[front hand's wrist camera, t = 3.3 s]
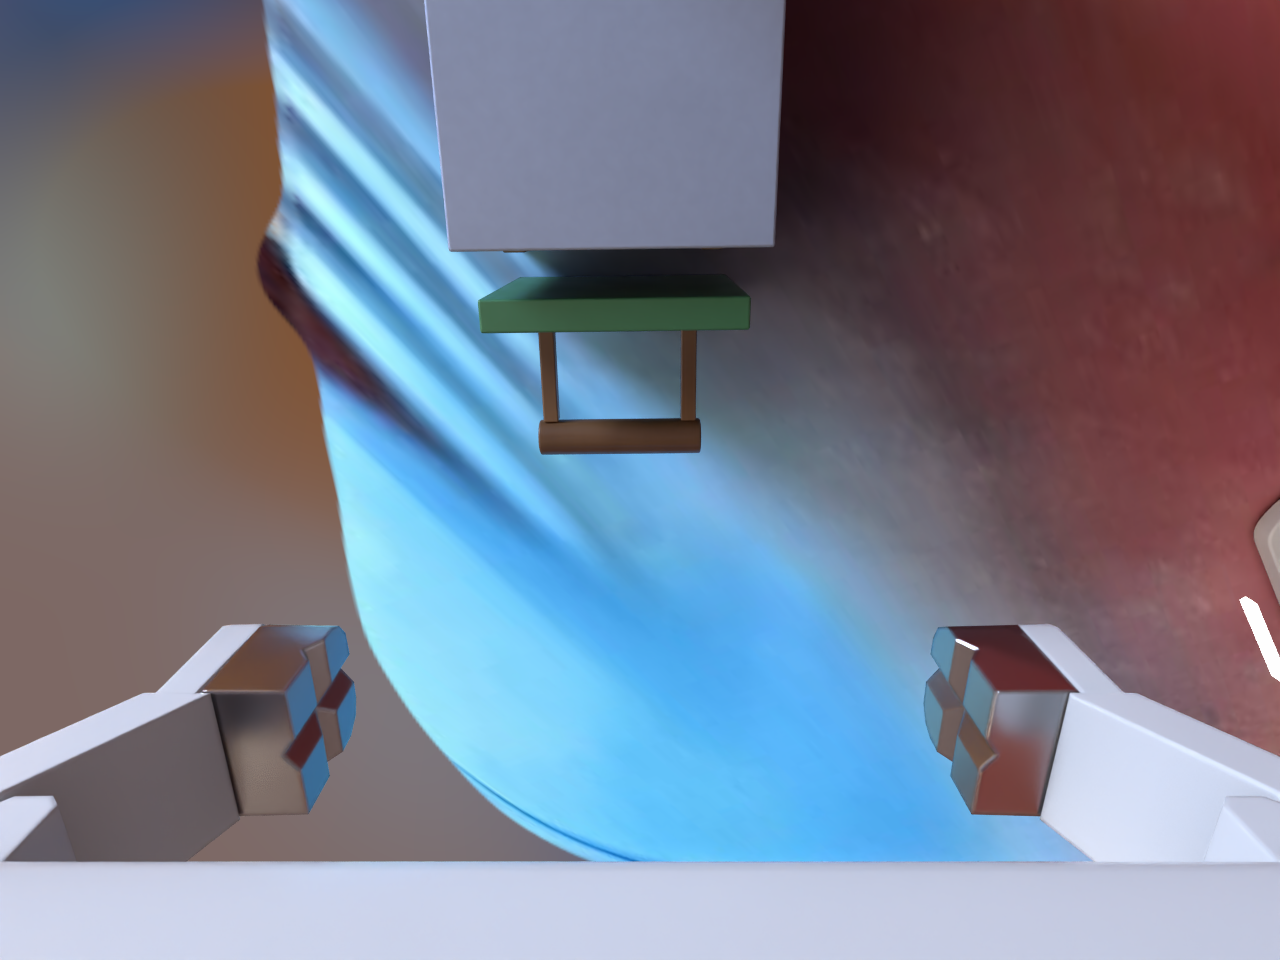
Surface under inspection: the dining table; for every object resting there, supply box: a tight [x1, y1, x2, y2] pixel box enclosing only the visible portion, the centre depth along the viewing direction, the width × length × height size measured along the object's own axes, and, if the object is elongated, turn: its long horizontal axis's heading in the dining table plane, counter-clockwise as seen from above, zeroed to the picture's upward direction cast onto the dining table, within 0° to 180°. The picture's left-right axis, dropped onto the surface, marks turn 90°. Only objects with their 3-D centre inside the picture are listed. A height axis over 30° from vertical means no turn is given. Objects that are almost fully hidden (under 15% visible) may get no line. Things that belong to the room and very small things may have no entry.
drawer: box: [478, 248, 751, 455], centre depth 29 cm, size 24×10×9 cm, turn 1°
